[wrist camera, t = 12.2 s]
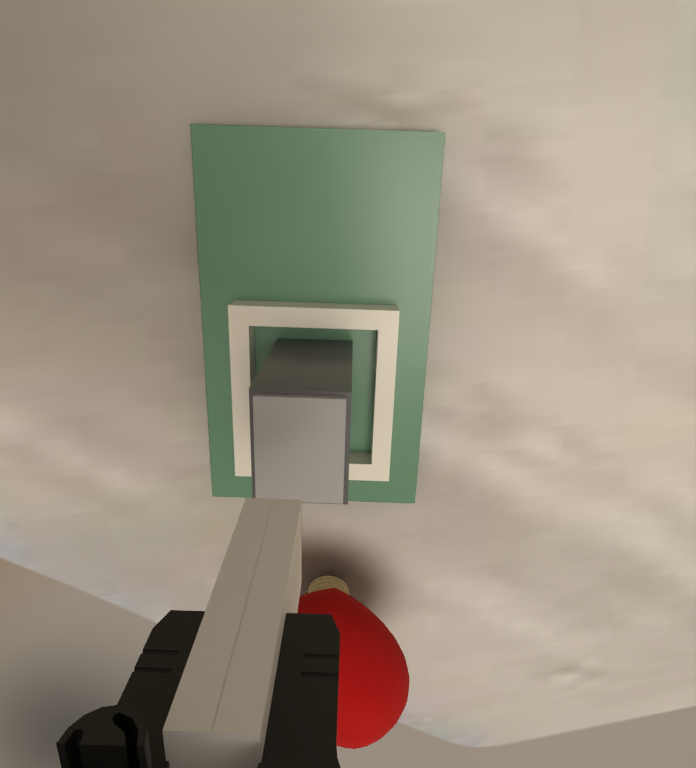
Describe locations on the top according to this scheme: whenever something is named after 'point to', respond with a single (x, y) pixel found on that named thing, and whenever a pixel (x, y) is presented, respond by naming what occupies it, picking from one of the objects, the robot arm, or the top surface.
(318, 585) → the light bulb
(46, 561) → the top surface
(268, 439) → the plug
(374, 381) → the board
